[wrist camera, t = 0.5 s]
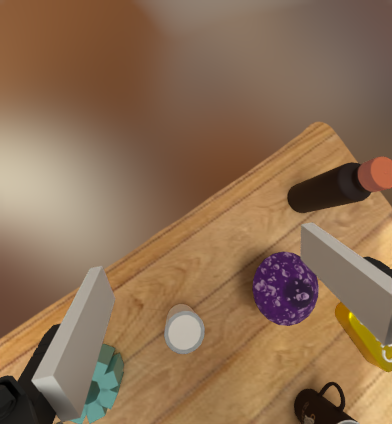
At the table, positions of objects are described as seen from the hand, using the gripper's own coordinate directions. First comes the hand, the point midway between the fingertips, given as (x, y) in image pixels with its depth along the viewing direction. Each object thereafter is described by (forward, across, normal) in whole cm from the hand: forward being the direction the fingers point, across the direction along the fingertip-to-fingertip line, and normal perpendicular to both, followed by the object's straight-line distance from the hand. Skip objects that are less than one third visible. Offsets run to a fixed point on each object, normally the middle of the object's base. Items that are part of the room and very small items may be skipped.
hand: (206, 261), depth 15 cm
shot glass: (+21, +6, +27) cm, 35 cm away
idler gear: (+17, +22, +30) cm, 41 cm away
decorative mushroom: (+25, -13, +26) cm, 38 cm away
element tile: (+22, -36, +40) cm, 58 cm away
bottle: (+34, -26, +13) cm, 45 cm away
